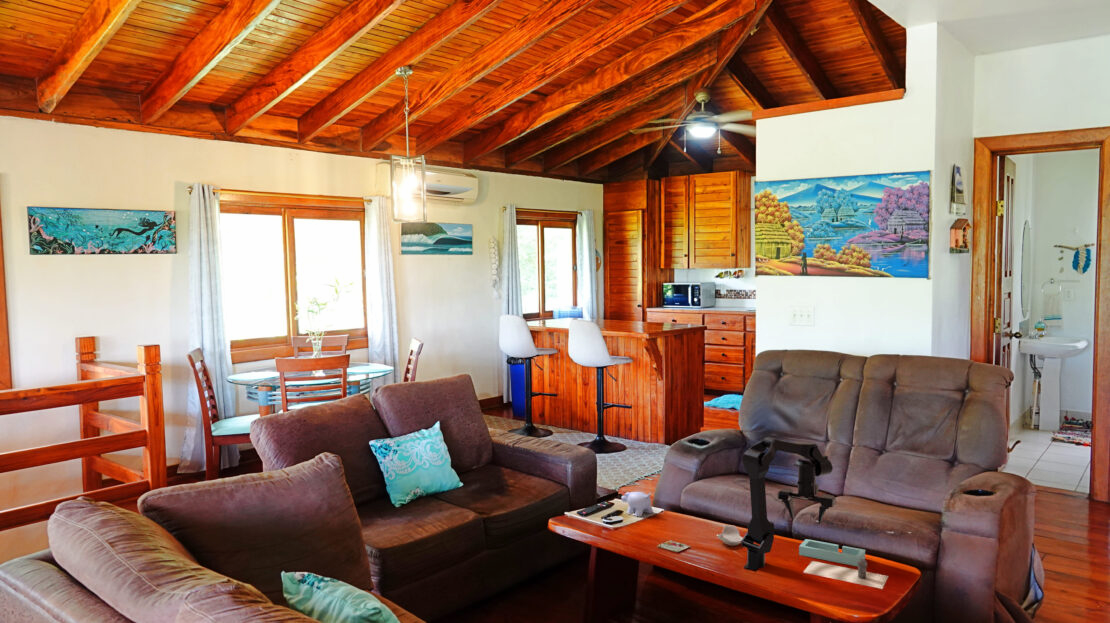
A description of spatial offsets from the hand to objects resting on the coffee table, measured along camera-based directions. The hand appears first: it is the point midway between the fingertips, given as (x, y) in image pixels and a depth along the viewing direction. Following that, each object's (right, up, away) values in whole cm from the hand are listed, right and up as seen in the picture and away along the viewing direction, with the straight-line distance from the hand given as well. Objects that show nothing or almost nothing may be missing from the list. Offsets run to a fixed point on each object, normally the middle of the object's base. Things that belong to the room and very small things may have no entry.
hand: (806, 521), depth 260 cm
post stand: (+6, -12, -20) cm, 24 cm away
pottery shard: (-24, -11, +11) cm, 29 cm away
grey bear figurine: (-54, -10, +49) cm, 74 cm away
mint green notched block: (+7, -12, -5) cm, 15 cm away
